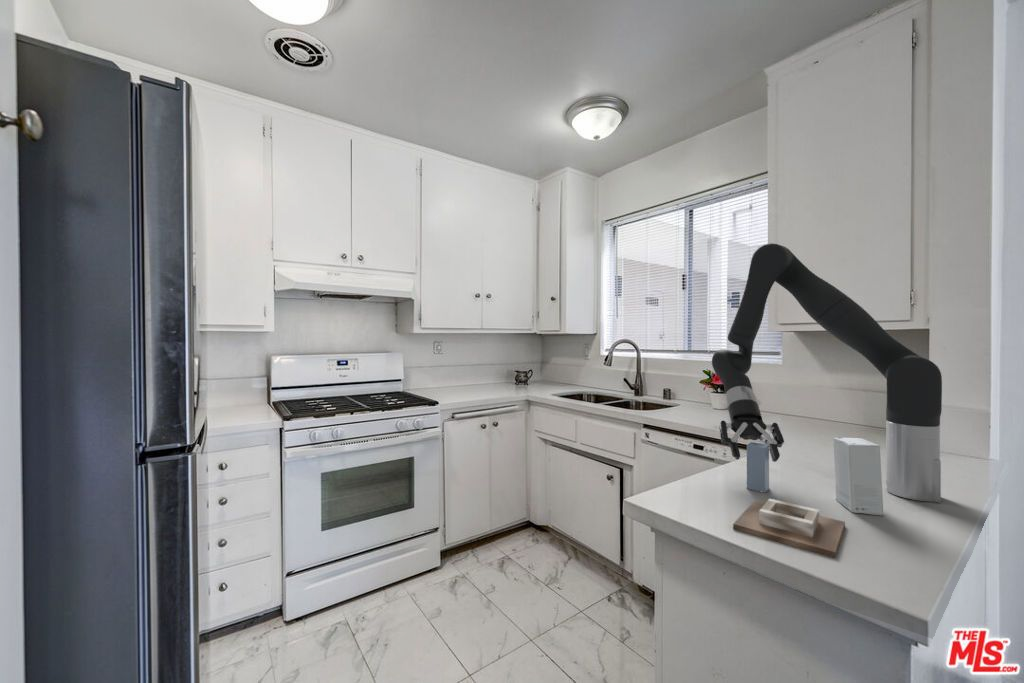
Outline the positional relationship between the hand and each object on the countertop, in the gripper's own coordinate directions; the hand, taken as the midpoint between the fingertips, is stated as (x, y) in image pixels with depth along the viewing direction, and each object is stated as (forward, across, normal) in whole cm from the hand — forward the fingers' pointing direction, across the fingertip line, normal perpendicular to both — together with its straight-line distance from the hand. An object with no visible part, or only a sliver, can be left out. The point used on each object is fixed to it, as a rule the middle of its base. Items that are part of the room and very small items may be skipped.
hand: (756, 459), depth 104 cm
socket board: (+21, -1, -11) cm, 24 cm away
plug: (+6, 0, +5) cm, 7 cm away
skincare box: (+11, +18, -1) cm, 21 cm away
